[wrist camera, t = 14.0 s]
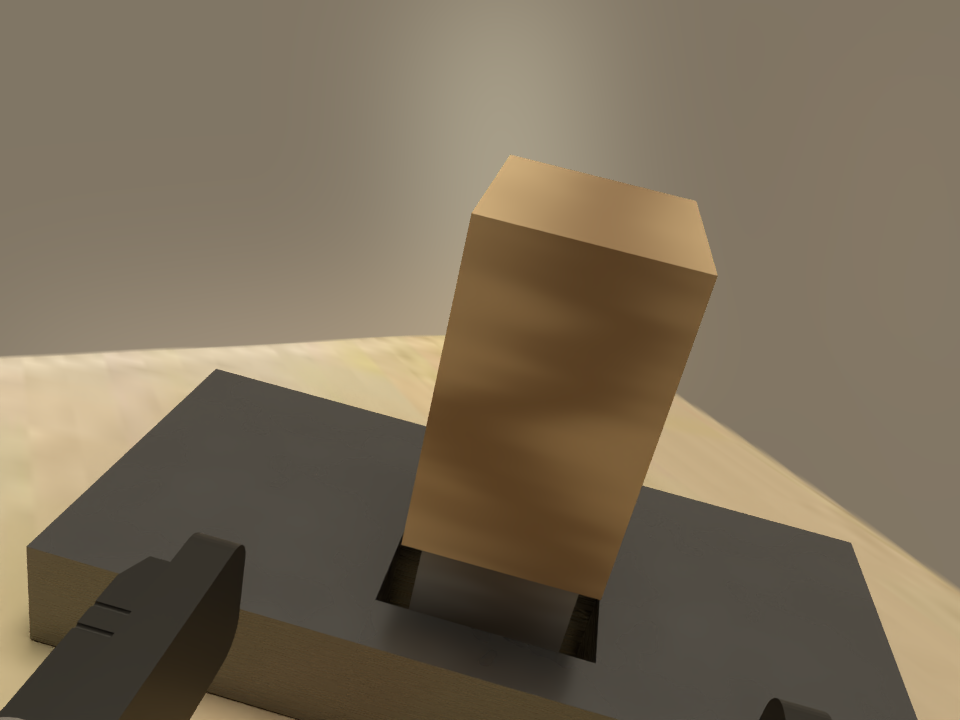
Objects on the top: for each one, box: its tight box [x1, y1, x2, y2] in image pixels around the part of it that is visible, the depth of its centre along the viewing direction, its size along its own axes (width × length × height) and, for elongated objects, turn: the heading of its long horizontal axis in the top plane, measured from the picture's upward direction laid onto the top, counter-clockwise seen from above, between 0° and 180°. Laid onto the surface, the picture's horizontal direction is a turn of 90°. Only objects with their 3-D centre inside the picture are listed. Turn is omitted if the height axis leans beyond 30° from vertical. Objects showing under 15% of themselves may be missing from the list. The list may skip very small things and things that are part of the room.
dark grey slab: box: [27, 369, 917, 720], centre depth 24 cm, size 22×10×3 cm, turn 80°
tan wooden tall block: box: [401, 155, 718, 653], centre depth 22 cm, size 5×6×13 cm
